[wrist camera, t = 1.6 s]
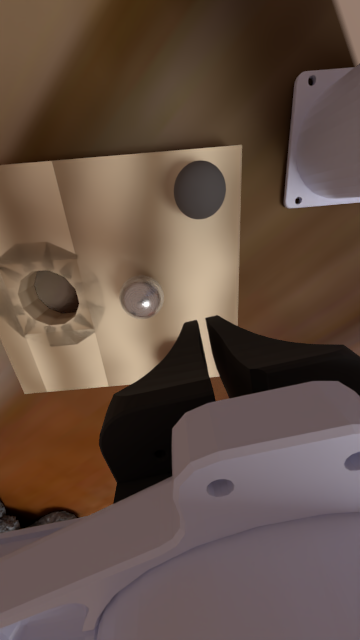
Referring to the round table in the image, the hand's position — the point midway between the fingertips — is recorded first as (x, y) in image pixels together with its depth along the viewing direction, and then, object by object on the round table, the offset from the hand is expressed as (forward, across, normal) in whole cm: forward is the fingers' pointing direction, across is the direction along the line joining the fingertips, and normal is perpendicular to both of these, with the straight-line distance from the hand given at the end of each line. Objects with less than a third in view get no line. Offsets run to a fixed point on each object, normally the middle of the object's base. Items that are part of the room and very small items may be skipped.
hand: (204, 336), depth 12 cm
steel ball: (+6, +4, -1) cm, 7 cm away
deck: (+10, +6, -1) cm, 12 cm away
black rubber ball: (+6, -2, -7) cm, 9 cm away
